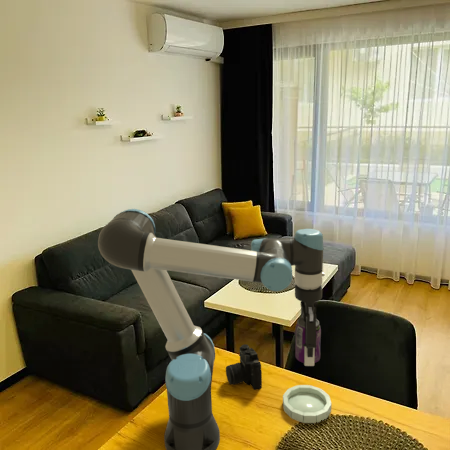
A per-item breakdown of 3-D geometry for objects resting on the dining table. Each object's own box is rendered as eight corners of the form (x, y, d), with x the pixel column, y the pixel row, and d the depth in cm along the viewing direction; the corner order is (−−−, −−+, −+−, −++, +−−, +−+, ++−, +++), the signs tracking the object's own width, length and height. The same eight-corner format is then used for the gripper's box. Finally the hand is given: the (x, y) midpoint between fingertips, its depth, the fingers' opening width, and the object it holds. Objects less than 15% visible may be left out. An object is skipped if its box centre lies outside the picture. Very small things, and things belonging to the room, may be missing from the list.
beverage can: (320, 366, 123) (321, 328, 120) (294, 364, 124) (294, 327, 121) (320, 353, 129) (320, 316, 126) (296, 351, 131) (296, 315, 128)
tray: (285, 422, 125) (285, 415, 124) (281, 391, 138) (281, 385, 138) (334, 423, 124) (334, 415, 124) (326, 391, 138) (326, 385, 137)
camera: (221, 370, 151) (220, 345, 148) (250, 365, 154) (250, 339, 151) (233, 395, 138) (232, 367, 135) (264, 388, 141) (264, 361, 138)
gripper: (328, 299, 111) (326, 378, 117) (316, 270, 130) (315, 339, 136) (298, 300, 111) (298, 378, 117) (291, 271, 130) (291, 339, 137)
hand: (307, 357), depth 127 cm, fingers closed on beverage can, 7 cm apart
